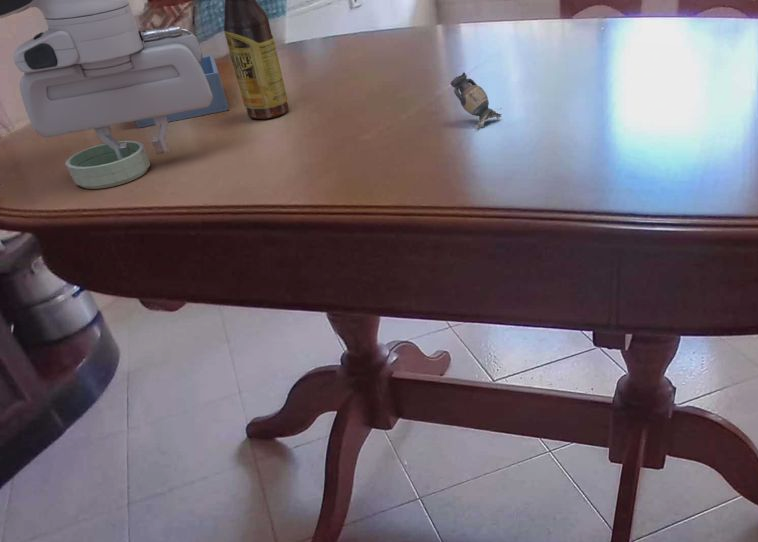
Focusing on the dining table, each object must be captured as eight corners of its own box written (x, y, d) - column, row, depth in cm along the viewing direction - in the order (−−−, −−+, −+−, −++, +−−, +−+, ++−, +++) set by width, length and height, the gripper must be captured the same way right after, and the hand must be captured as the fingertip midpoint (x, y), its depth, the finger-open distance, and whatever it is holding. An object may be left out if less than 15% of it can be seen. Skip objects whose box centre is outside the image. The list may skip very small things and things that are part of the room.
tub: (138, 128, 103) (123, 90, 100) (140, 105, 113) (127, 69, 110) (229, 110, 106) (218, 72, 103) (223, 89, 117) (213, 54, 113)
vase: (445, 125, 92) (439, 77, 88) (474, 112, 95) (469, 66, 91) (474, 132, 88) (469, 83, 85) (503, 119, 91) (499, 71, 88)
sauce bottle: (240, 116, 103) (195, -36, 91) (278, 104, 106) (238, -44, 95) (261, 124, 99) (216, -34, 87) (299, 112, 102) (261, -42, 90)
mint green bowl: (72, 196, 83) (61, 174, 81) (79, 171, 90) (69, 150, 88) (151, 179, 85) (142, 157, 84) (152, 156, 92) (144, 135, 91)
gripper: (191, 18, 84) (227, 131, 93) (6, 48, 80) (61, 165, 88) (193, 27, 80) (230, 145, 88) (-4, 60, 75) (55, 182, 83)
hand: (144, 155), depth 88 cm, fingers open, 3 cm apart
